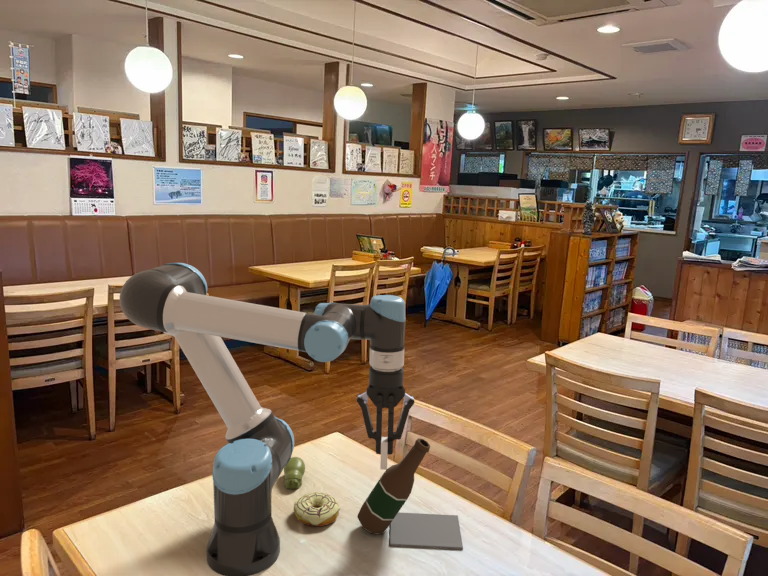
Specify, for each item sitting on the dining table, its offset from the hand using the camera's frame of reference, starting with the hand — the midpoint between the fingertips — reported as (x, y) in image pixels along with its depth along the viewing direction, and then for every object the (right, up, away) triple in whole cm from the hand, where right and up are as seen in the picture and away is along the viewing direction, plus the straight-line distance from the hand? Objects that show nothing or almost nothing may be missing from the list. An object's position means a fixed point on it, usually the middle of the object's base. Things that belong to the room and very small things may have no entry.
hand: (383, 466), depth 126 cm
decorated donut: (-16, -14, +7) cm, 23 cm away
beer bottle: (-3, -14, +3) cm, 14 cm away
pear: (-24, -11, +22) cm, 34 cm away
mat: (+10, -16, +3) cm, 19 cm away
